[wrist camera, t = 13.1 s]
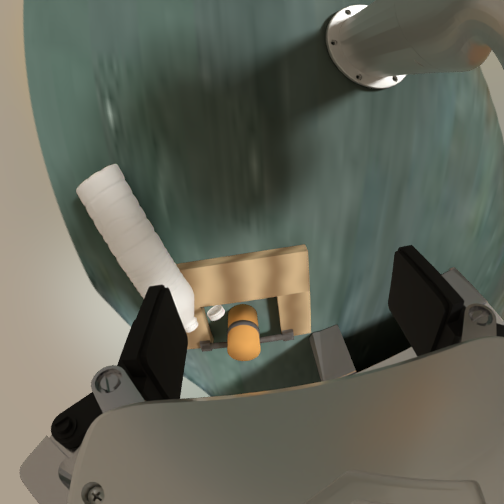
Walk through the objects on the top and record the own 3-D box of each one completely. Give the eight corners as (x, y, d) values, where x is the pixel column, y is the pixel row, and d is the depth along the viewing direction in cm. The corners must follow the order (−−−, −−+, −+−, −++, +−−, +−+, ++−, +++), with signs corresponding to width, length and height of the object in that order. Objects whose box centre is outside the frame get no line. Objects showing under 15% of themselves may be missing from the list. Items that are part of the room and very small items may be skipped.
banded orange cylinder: (255, 301, 47) (258, 336, 39) (259, 324, 49) (263, 359, 42) (224, 305, 47) (223, 340, 40) (230, 328, 49) (230, 363, 42)
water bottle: (86, 187, 35) (175, 325, 44) (67, 192, 29) (172, 350, 38) (135, 153, 35) (223, 301, 44) (123, 152, 29) (227, 323, 38)
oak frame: (304, 244, 42) (309, 254, 39) (308, 325, 50) (312, 337, 47) (158, 266, 43) (154, 277, 40) (186, 341, 50) (184, 354, 47)
